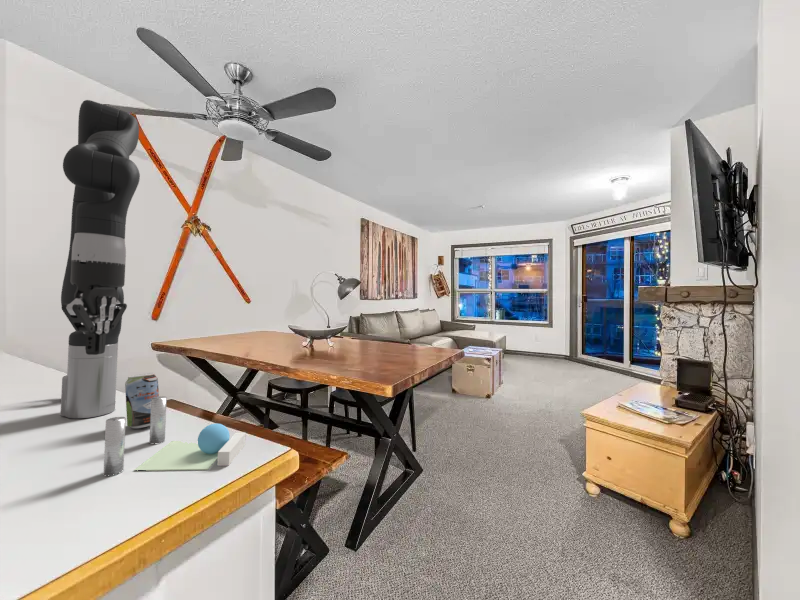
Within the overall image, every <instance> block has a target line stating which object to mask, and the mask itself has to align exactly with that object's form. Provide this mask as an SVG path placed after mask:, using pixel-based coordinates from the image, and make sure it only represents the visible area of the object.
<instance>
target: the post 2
mask: <svg viewBox="0 0 800 600" xmlns="http://www.w3.org/2000/svg"><path fill="white" fill-rule="evenodd" d="M167 398H168V397H167V396H163V395H162V396H161V395H159V397H154V398H152V399H151V418H150V426H149V442H150V443H154V444H153V445H156V444H155V443H159V444H162V443H164V442H165V441H166V424H167V423H166V422H167V420H166V419H167V418H166V417H167V400H168V399H167ZM163 441H164V442H163ZM161 442H162V443H161ZM150 443H149V444H150Z"/></svg>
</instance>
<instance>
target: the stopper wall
mask: <svg viewBox="0 0 800 600" xmlns="http://www.w3.org/2000/svg"><path fill="white" fill-rule="evenodd" d="M246 434H247V432H235V433H234V434H233V435H232V436H231V437H229V441H228V442H227V443H226V444H225V445H224V446H223V447H222V448H221V449H220V450H219V451H218V459H217V466H219V467H220V466H221V467H223V466H226V467H227V466H230V464H232V463H233V461H234V460H235V459H236V458H237V456H238V455H239V454H240V452H241V451H242V450H243V448H244V447H245V446H246V440H247V439H246V436H247V435H246Z"/></svg>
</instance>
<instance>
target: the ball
mask: <svg viewBox="0 0 800 600" xmlns="http://www.w3.org/2000/svg"><path fill="white" fill-rule="evenodd" d="M230 438H231V437H230V431H229V429H228V428H227V427H226V426H225V425H223V424H222V423H211V424H209V425H207V426H205V427H204V428H202V430H201V431H200V432H199V434H198V436H197V441H198V446H199V448H200V450H201V451H203V452H204V453H208V454H214V453H217V452H218V451H219V450H220V449H221V448H222V447H223V446H224V445H225V444H226V443H227V442H228V441H229V439H230Z"/></svg>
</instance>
